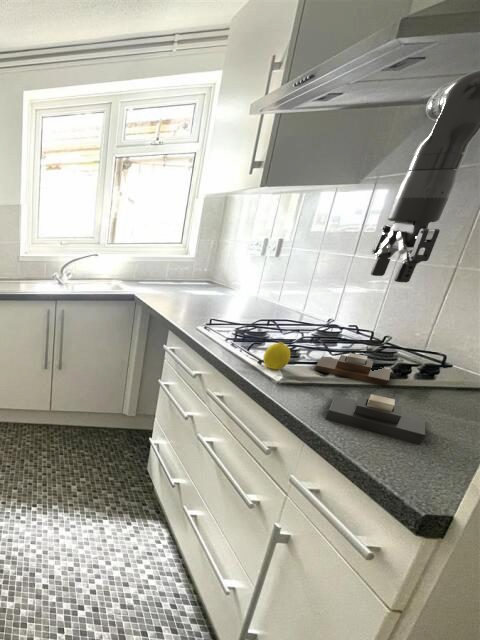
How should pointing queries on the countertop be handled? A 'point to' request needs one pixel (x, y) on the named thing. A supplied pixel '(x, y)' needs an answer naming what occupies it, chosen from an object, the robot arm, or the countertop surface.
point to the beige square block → (356, 358)
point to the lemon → (277, 356)
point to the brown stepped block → (353, 370)
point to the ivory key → (381, 402)
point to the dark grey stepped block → (377, 419)
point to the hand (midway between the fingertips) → (388, 278)
